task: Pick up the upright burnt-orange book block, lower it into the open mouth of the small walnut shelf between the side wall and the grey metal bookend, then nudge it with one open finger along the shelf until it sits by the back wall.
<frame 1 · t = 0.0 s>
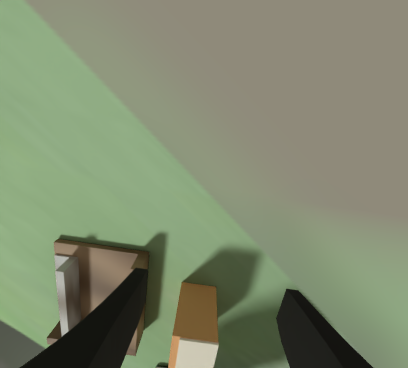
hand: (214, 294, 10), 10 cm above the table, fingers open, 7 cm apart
book: (195, 303, 23), on the table
shelf: (104, 288, 23), on the table
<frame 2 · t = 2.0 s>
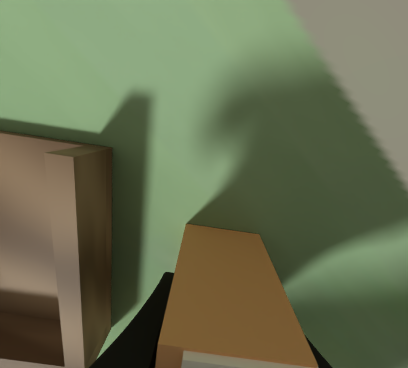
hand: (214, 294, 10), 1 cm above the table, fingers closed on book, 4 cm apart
book: (213, 273, 11), on the table, touching gripper
shelf: (23, 240, 11), on the table
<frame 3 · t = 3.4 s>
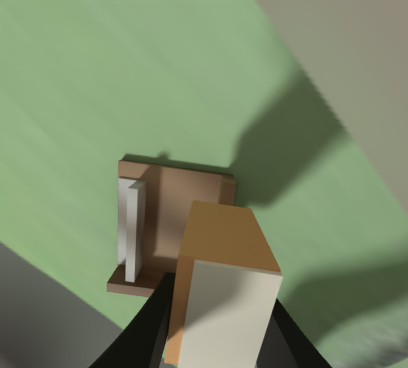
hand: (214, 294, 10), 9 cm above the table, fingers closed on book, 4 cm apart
book: (214, 242, 14), point 5 cm above the table, touching gripper
shelf: (171, 226, 19), on the table
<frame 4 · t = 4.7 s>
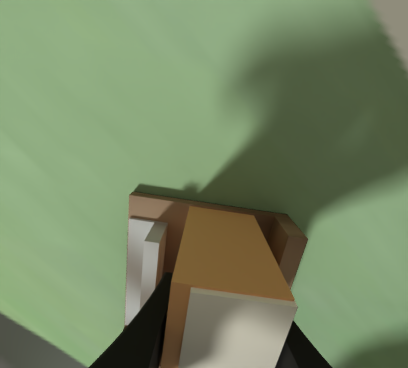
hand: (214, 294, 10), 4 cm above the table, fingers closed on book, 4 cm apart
book: (214, 251, 13), point 1 cm above the table, touching gripper, shelf
shelf: (197, 278, 14), on the table
when the fingers open (4 cm above the table, at t = 5.1 s): book stays where it is, resting on shelf.
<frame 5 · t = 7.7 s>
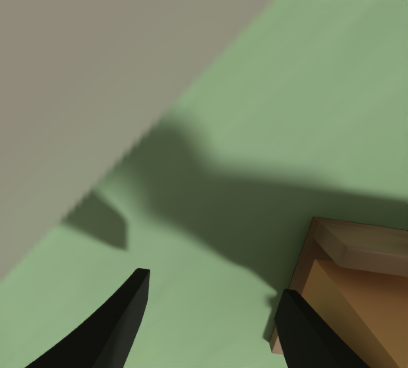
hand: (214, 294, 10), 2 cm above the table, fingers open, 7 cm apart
book: (353, 294, 12), point 1 cm above the table, touching gripper, shelf
shelf: (381, 300, 12), on the table
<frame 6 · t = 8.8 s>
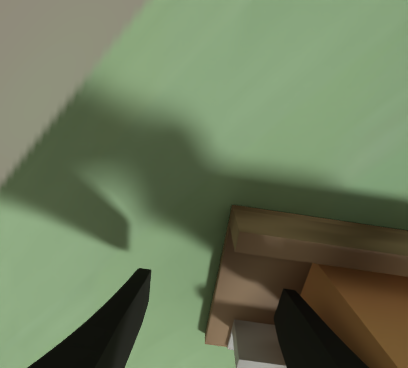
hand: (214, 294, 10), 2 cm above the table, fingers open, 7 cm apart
book: (352, 294, 12), point 1 cm above the table, touching gripper, shelf
shelf: (310, 290, 12), on the table
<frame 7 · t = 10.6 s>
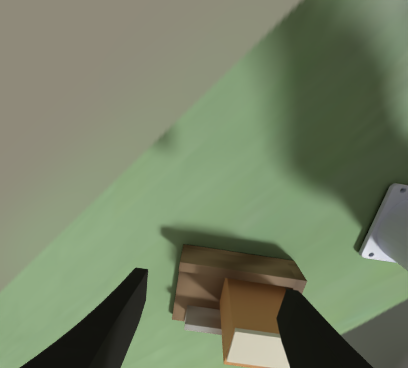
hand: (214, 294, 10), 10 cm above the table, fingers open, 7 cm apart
book: (249, 291, 21), point 1 cm above the table, touching shelf
shelf: (230, 289, 22), on the table
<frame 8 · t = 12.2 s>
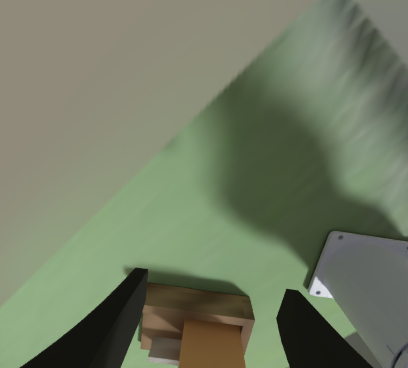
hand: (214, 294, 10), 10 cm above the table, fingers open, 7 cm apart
book: (209, 324, 23), point 1 cm above the table, touching shelf
shelf: (192, 321, 24), on the table
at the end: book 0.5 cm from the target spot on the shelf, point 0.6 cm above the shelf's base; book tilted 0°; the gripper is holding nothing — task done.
